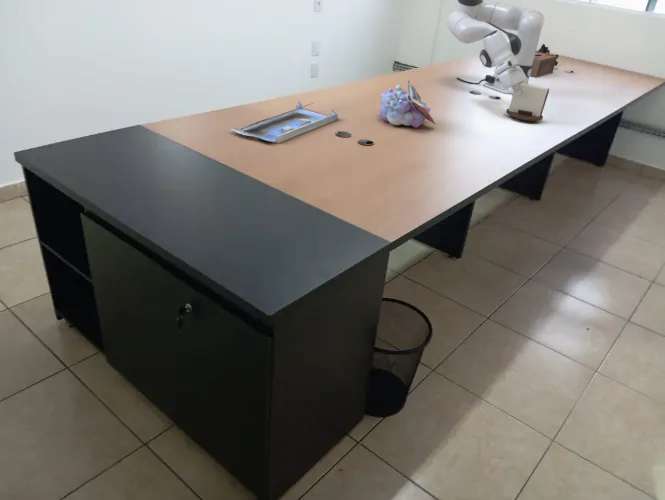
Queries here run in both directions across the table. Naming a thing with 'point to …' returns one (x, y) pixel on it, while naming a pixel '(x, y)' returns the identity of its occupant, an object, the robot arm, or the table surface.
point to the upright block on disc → (528, 103)
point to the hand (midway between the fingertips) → (522, 93)
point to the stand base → (523, 120)
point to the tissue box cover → (543, 64)
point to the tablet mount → (546, 51)
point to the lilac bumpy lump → (404, 107)
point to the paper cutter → (287, 124)
